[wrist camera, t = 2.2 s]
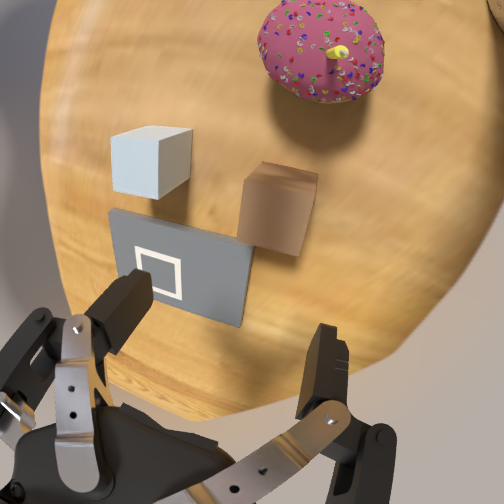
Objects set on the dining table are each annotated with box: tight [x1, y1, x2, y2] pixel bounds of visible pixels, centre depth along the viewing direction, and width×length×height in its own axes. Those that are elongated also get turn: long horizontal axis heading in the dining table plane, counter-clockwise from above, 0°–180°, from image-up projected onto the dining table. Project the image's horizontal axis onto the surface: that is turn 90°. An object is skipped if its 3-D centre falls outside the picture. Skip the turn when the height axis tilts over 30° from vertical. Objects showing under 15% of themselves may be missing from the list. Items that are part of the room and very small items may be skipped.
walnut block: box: [236, 161, 318, 257], centre depth 23 cm, size 5×5×6 cm
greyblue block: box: [111, 125, 193, 200], centre depth 23 cm, size 5×5×6 cm
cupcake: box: [257, 0, 385, 103], centre depth 13 cm, size 9×8×12 cm
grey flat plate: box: [108, 208, 254, 328], centre depth 33 cm, size 18×12×1 cm, turn 82°
